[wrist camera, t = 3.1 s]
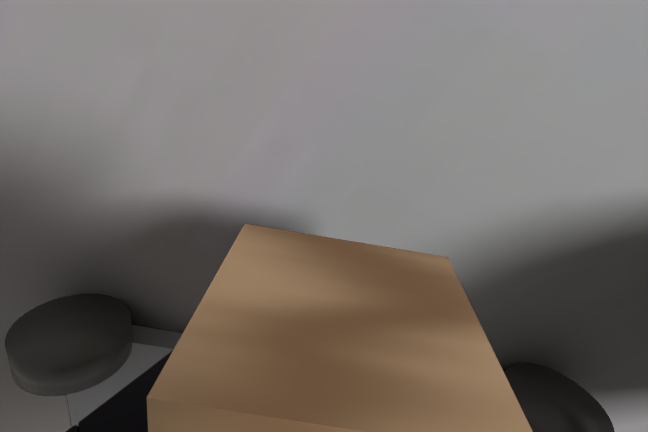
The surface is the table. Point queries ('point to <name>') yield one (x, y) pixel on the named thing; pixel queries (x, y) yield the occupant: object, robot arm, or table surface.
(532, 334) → the table surface
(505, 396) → the cardboard box
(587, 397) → the chassis
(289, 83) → the table surface
